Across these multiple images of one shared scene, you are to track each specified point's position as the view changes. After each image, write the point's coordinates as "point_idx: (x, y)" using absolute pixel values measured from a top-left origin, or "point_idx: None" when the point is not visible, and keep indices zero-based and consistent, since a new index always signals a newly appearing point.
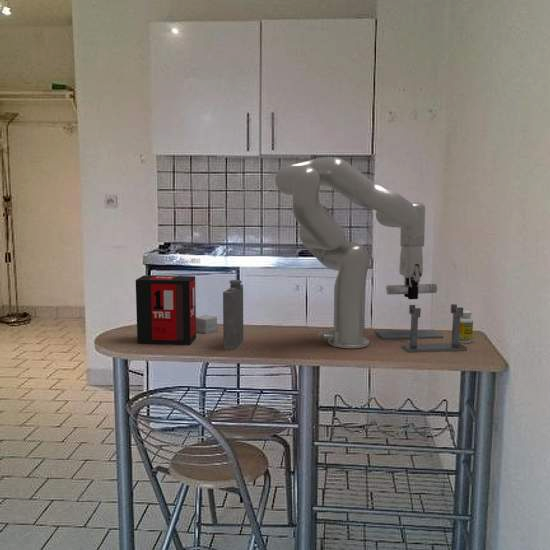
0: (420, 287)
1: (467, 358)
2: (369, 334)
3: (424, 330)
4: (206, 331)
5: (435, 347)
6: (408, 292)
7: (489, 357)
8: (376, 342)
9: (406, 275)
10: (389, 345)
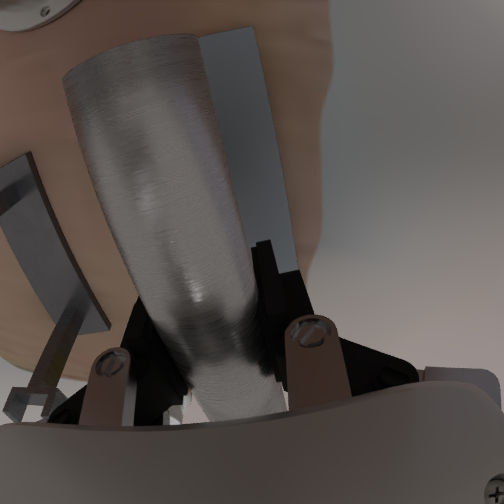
0: (202, 409)
1: (6, 316)
2: (211, 3)
3: (280, 248)
4: None
5: (29, 261)
6: (138, 298)
7: (38, 357)
8: (71, 46)
9: (5, 442)
10: (38, 102)
